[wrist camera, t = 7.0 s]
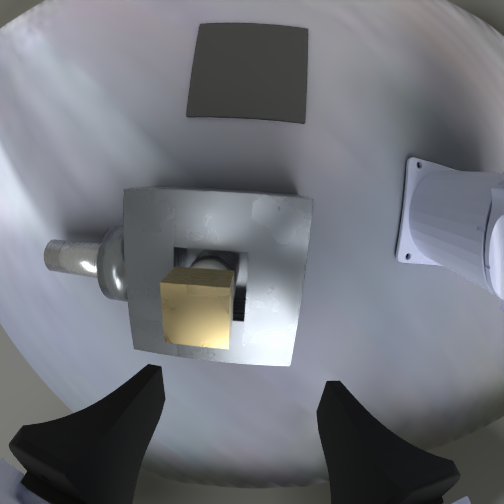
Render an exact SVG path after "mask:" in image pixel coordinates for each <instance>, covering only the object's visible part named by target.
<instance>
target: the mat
mask: <svg viewBox="0 0 504 504" xmlns="http://www.w3.org/2000/svg"><path fill="white" fill-rule="evenodd" d="M307 65H308V29H306V28H299V27H291V26H282V25H271V24H255V23H207V24H200V26H199V31H198V37H197V42H196V48H195V54H194V60H193V67H192V74H191V81H190V88H189V96H188V105H187V114H186V116H187V117H220V118H245V119H261V120H273V121H284V122H293V123H301V124H304V123H305V114H306V93H307Z"/></svg>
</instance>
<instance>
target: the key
mask: <svg viewBox="0 0 504 504" xmlns="http://www.w3.org/2000/svg"><path fill="white" fill-rule="evenodd" d="M238 274H239V262H238V259H237V257H236V256H235V254H234V253H233V252H232V251H220V250H207V249H204V250H203V251H202V252H201V253H200V254H199V256H198V257H197V258H196V259H195V261H194V262H193V263H192V265H191V266H190V267H174V268H173V269H172V270H171V271H170V272H169V273H168V274H167V276H166V277H165V278H164V279H163V280H162V281H161V282H160V292H161V306H162V319H163V329H164V339H165V342H166V343H173V344H181V345H190V346H200V347H210V348H222V349H229V344H230V337H231V331H232V325H233V300H234V295H235V289H236V284H237V279H238Z"/></svg>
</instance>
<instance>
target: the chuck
mask: <svg viewBox="0 0 504 504" xmlns="http://www.w3.org/2000/svg"><path fill="white" fill-rule="evenodd" d="M312 208H313V199H311V198H308V197H304V196H301V195H295V194H284V193H273V192H260V191H247V190H232V189H214V188H191V187H143V188H130V189H124V213H123V220H124V226H120V225H115V226H112V227H111V228H110V229H109V230H108V231H107V232H106V233H105V235H104V237H103V239H102V241H101V243H89V242H77V241H65V240H51V241H50V242H49V243H48V244H47V246H46V248H45V252H44V261H45V265H46V267H47V268H48V269H49V270H51V271H56V272H62V273H68V274H75V275H81V276H88V277H95V278H98V282H99V286H100V288H101V291H102V292H103V294H104V295H105V296H106V297H107V298H109V299H113V300H119V301H126V302H128V308H129V317H130V325H131V332H132V339H133V345H134V349H137V350H142V351H148V352H153V353H159V354H165V355H171V356H178V357H185V358H192V359H200V360H209V361H218V362H228V363H240V364H254V365H272V366H290V363H291V358H292V352H293V347H294V341H295V335H296V329H297V323H298V317H299V310H300V304H301V297H302V290H303V283H304V276H305V269H306V261H307V253H308V245H309V236H310V227H311V218H312ZM204 249H207V250H220V251H232V252H233V253H234V254H235V256H236V257H237V259H238V262H239V274H238V279H237V284H236V289H235V295H234V300H233V325H232V331H231V337H230V344H229V349H222V348H210V347H200V346H190V345H181V344H173V343H166V342H165V339H164V329H163V319H162V306H161V292H160V282H161V281H162V280H163V279H164V278H165V277H166V276H167V274H168V273H169V272H170V271H171V270H172V269H173V268H174V267H190V266H191V265H192V263H193V262H194V261H195V259H196V258H197V257H198V256H199V254H200V253H201V252H202V251H203V250H204Z"/></svg>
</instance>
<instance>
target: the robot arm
mask: <svg viewBox="0 0 504 504" xmlns="http://www.w3.org/2000/svg"><path fill="white" fill-rule="evenodd" d="M417 163H419V168H418V167H417ZM406 254H409V256H408V258H405V256H406ZM396 259H397V260H398V261H399V262H403V263H416V264H429V265H442V266H444V267H446V268H448V269H450V270H452V271H453V272H455V273H457V274H459V275H461V276H463V277H464V278H466V279H468V280H470V281H471V282H473V283H475V284H477V285H478V286H480V287H482V288H483V289H485V290H487V291H489V292H490V293H492V294H494V295H495V296H497V297H498V299H499V301H500V309H501V310H502V311H504V173H496V172H472V171H458V170H455V169H452V168H449V167H446V166H442V165H439V164H436V163H433V162H429V161H426V160H422V159H418V158H415V157H411V158H409V159H408V160H407V166H406V180H405V191H404V201H403V210H402V218H401V225H400V232H399V238H398V244H397V250H396ZM164 402H165V392H164V384H163V376H162V367H161V366H156V365H151V364H148V365H147V366H145V367H144V368H143V369H142V370H140V371H139V372H138V373H137V374H136V375H134V376H133V377H132V378H131V379H129V380H128V381H127V382H126V383H124V384H123V385H122V386H120V387H119V388H118V389H116V390H115V391H113V392H112V393H110V394H109V395H107V396H106V397H104V398H103V399H101V400H100V401H98V402H96V403H95V404H93V405H91V406H89V407H87V408H85V409H83V410H81V411H78V412H76V413H73V414H71V415H68V416H66V417H63V418H59V419H56V420H52V421H48V422H44V423H38V424H32V425H24V426H22V428H21V429H20V430H19V431H18V433H17V434H16V435H15V436H14V438H13V439H12V440H11V442H10V443H9V448H10V450H11V452H12V453H13V455H14V456H15V457H16V458H17V459H18V461H19V462H20V463H21V464H22V465H23V467H24V468H25V469H26V470H27V473H26V474H25V475H24V474H23V473H22V472H20V471H19V470H18V469H16V468H15V467H14V466H12V465H11V464H10V463H8V462H7V461H5V460H4V459H3V458H1V459H0V504H132V502H133V496H134V491H135V487H136V482H137V478H138V474H139V470H140V467H141V463H142V460H143V457H144V454H145V452H146V449H147V447H148V445H149V442H150V440H151V438H152V435H153V433H154V431H155V428H156V426H157V424H158V421H159V419H160V416H161V413H162V409H163V406H164ZM317 422H318V431H319V435H320V439H321V443H322V447H323V451H324V455H325V459H326V463H327V467H328V473H329V480H330V490H331V504H442V503H443V499H442V496H443V495H444V494H445V493H446V492H447V491H448V490H449V489H451V488H452V487H453V486H454V485H455V484H456V483H457V482H458V480H459V479H460V473H459V471H458V469H457V467H456V465H455V464H454V462H453V461H452V460H448V459H445V458H442V457H438V456H435V455H433V454H431V453H428V452H426V451H424V450H421V449H419V448H417V447H415V446H413V445H412V444H410V443H408V442H407V441H405V440H403V439H402V438H400V437H398V436H397V435H396V434H394V433H393V432H391V431H390V430H389V429H387V428H386V427H385V426H384V425H382V424H381V423H380V422H379V421H378V420H377V419H376V418H374V417H373V416H372V415H371V414H370V413H369V412H368V411H367V410H366V409H365V408H364V407H363V406H362V405H361V404H360V403H359V402H358V400H357V399H356V398H355V397H354V396H353V395H352V394H351V393H350V392H349V390H348V389H347V388H346V387H345V386H344V385H343V384H342V383H341V382H340V381H327V382H326V385H325V388H324V391H323V394H322V397H321V400H320V403H319V406H318V409H317ZM452 504H471V503H470V501H469V499H468V497H467V496H466V497H464V498H462V499H460V500H458V501H456V502H454V503H452Z"/></svg>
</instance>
